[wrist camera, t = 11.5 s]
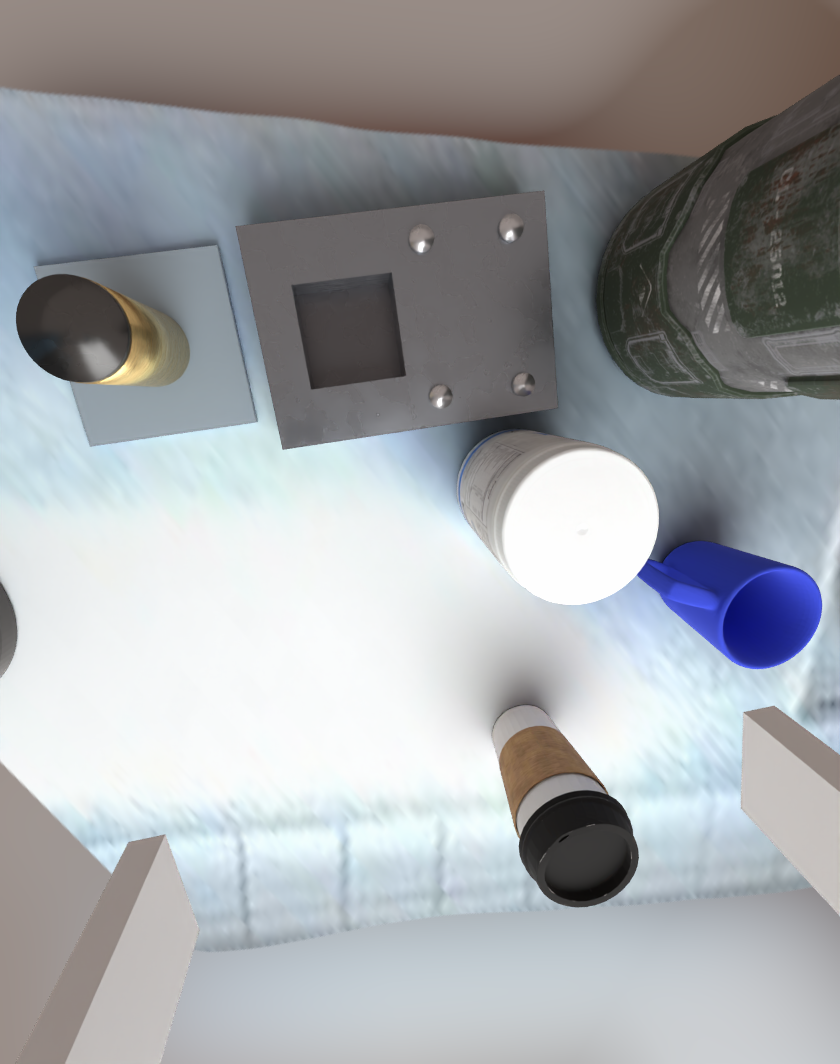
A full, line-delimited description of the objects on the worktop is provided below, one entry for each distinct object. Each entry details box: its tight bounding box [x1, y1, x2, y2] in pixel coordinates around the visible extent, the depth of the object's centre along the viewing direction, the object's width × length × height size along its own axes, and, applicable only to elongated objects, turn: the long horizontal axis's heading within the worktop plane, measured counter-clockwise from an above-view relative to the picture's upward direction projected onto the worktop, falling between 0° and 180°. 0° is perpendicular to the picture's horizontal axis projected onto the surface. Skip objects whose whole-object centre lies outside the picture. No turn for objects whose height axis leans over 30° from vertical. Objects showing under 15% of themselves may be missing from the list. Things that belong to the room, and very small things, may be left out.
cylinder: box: [16, 274, 190, 387], centre depth 31 cm, size 5×5×11 cm
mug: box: [637, 541, 822, 669], centre depth 42 cm, size 8×12×10 cm
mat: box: [34, 245, 258, 447], centre depth 37 cm, size 12×12×1 cm
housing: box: [236, 191, 558, 450], centre depth 37 cm, size 20×14×4 cm
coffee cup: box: [492, 705, 639, 907], centre depth 42 cm, size 8×8×15 cm
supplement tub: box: [457, 429, 659, 605], centre depth 36 cm, size 10×10×15 cm
